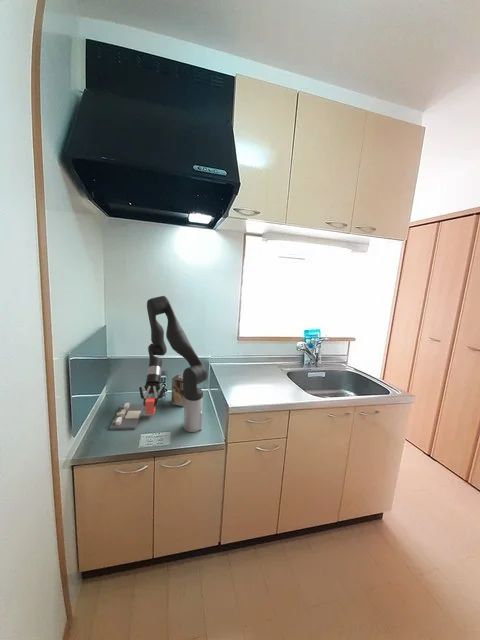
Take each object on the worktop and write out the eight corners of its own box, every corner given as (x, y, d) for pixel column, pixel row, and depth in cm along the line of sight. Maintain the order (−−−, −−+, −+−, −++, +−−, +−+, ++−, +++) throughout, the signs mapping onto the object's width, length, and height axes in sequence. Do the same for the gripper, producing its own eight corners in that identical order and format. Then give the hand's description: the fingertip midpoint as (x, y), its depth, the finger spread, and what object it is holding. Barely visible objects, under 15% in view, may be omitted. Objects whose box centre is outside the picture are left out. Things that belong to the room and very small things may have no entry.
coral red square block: (155, 409, 144) (155, 397, 142) (153, 414, 140) (153, 401, 138) (146, 410, 143) (146, 397, 142) (145, 414, 139) (145, 401, 137)
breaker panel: (144, 405, 152) (144, 400, 151) (135, 429, 131) (135, 423, 130) (122, 406, 150) (122, 400, 149) (109, 429, 129) (109, 424, 128)
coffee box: (189, 402, 159) (190, 377, 156) (184, 407, 153) (185, 381, 150) (176, 398, 162) (177, 374, 159) (170, 403, 156) (171, 378, 153)
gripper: (139, 373, 145) (134, 404, 135) (166, 373, 147) (163, 404, 138) (141, 378, 151) (137, 408, 142) (167, 378, 153) (164, 408, 144)
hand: (150, 406), depth 140 cm, fingers closed on coral red square block, 4 cm apart
